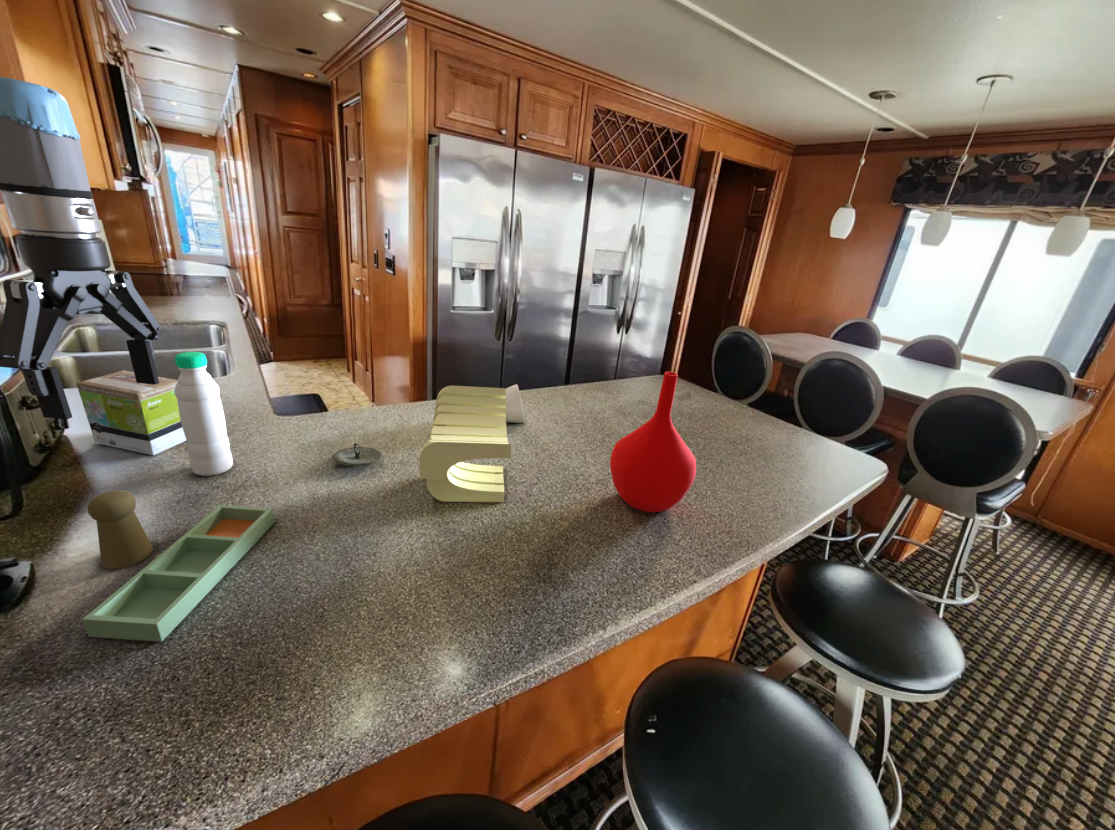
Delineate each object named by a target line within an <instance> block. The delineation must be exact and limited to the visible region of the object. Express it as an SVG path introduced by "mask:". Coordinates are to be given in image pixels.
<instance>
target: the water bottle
mask: <svg viewBox="0 0 1115 830" xmlns="http://www.w3.org/2000/svg"><path fill="white" fill-rule="evenodd" d="M174 362H175V365H176V367H177V369H178V370H179V371H180V374H179V376H178V378H177V380H178V383H177V384H176V387H175V390H174V393H175V396H176V398H177V400H178V409H179V414H180V419H181V423H182V427H183V431H184V434H185V437H186V449H187V453H188V455H189V462H190V467H191V471H192V473H193V474H195V475H198V476H202V477H210V476H216V475H221V474H224V473H225V472H228V471H229V470H230V469H232V467H233V465H234V458H233V455H232V451H231V445H230V439H229V437H228V433H227V424H226V417H225V412H224V407H223V402H222V399H221V397H220V396H221V395H220V393H221V391H220V386H219V384H218V383H217V382H216V380H214V379H213V377H212V375H211V374H210V373H209V372H208V371H207V370H206V369H207V367H208V359H207V356H206V354H204V353H203V352H200V351H185V352H180V353H178V354H176V355H175V357H174Z"/></svg>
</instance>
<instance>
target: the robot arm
mask: <svg viewBox="0 0 1115 830" xmlns="http://www.w3.org/2000/svg"><path fill="white" fill-rule="evenodd" d="M0 194H1V197H2V201H3V203H4V207H5V210H6V213H7V216H8V221H9V222H10V226H11V228H13V229H15V230H17V231H20V233H18V234H17V235H16V236H15V241H16V244H17V247H18V251H19V253H20V257H21V260H22V263H23V264H24V266H26V267H27V268H29V269H30V270H31V272H32V273H33V280H32V281H25V280H17V279H16V280H15V279H5V280H3V282H2V288H3V291H4V295H5V307H4V312H3V317H2V322H1V327H0V368H9V369H10V368H11V369H18V370H20V371H21V373H22V376H23V378H24V381H25V384H26V387H27V389H28V392H29V393H30V394H31V395H32V396H36V399H37V402H38V405H39V408H40V411H41V413H42V416H43V418H46V419H55V420H56V419H57V420H69V419H72V418H73V414H72V411H71V408H70V405H69V401H68V399H67V395H66V392H65V390H64V386H63V382H62V381H61V380H62V379H61V377H60V373H59V371H58V367H56V366H49V364H50V362H51V360H52V358H53V355H54V354H55V351H56V349H57V347H58V345H59V342H60V341H61V338H62V336H63V334H64V331H65V329H66V328H67V325H68V323H69V322H70V321H72V320H74V319H75V317H76V316H77V315H85V314H87V313H89V312H100V314H102V315H103V316H105V317H106V318H107V319H108V320H109V321H110V322H111V323H113V324H114V325H116V327H118V328H119V329H120V330H121V331H123V332H124V333H125V334H127V336H129V337H130V338H131V339H128V340H125V343H126V346H127V350H128V354H129V357H130V361H131V365H132V369H133V372H134V374H135V377H136V381H137V383H143V384H154V385H156V384H158V383H159V379H158V377H159V375H158V371H157V367H156V363H155V360H156V354H155V350H154V345H153V341H158V340H159V339H160V335H159V334H161V333H162V331H163V327H162V325H161V324H160V322H159V321H158V320H157V318H156V316H154V314H153V312H152V311H151V310H150V308H149V306H148V305H147V304H146V303H145V301H144V300H143V298H142V297H141V295H140V294H139V292H138V291H137V289H136V288H135V285H134V282H133V280H132V277H131V274H130V273H129V272H127V271H120V270H110V269H109V268H111V260H110V256H109V252H108V248H107V244H106V241H105V240H103V239H102V238H101V237H98V236H97V234H101V233H102V227H101V222H100V219H99V216H98V215H99V214H98V211H97V208H96V207H97V206H96V204H95V200H94V194H93V192H92V190H91V185H90V181H89V177H88V172H87V168H86V163H85V159H84V153H83V149H82V143H81V135H80V132H78V129H77V127H76V123H75V121H74V118H73V115H72V112H71V109H70V106H69V104H68V101H67V99H66V98H65V97H64V96H63V95H62V94H61V93H60V92H59V91H57V90H55V89H53V88H51V87H47V86H44V85H41V84H38V83H33V82H29V81H25V80H22V79H21V80H20V79H17V78H16V79H15V78H11V77H5V76H0Z"/></svg>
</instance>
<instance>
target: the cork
mask: <svg viewBox="0 0 1115 830" xmlns="http://www.w3.org/2000/svg"><path fill="white" fill-rule="evenodd" d="M136 506H137V501H136V497H135V496H134V495H133V494H132V492H129V491H127V490H121V489H120V490H119V489H118V490H110V491H106V492H103V493H100V494H98V495H96V496H94V497H92V498H91V499H90V500H89V502H88V504H87V513H88V515H89V516H90V517H91V518H92V520H94V521H96V526H97V527H96V528H97V538H98V547H99V554H100V564H101V565H102V567H103V568H106V569H112V570H113V569H114V570H116V569H123V568H127V567H130V566H134V565H136V564H138V563H141V562H142V561H144V560H146V559H147V558H148V557H149V556H151V555H152V553H153V551H154V546H153V544H152V542H151V541H150V539H149V536H148V535H147V533H146V531H145V529H144V528H143V526H142V524H141V522H140V520H139V518H138V516H137V514H136V512H135V510H136Z"/></svg>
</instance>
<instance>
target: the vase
mask: <svg viewBox="0 0 1115 830" xmlns="http://www.w3.org/2000/svg"><path fill="white" fill-rule="evenodd" d="M678 376H679V374H678V373H676V372H673V371H665V372H664V374H663V378H662V382H661V387H660V391H659V395H658V399H657V406H656V410H655V412H654V414H653V416H651V418H650V419H649V420H648V421H646V422H645V423H643V424H642V425H640V426H639V427H638V428H636V429H635V430H634V431H632V432H630V433H628V434H627V435H625V436H622V438H620V439H619V440H617V441H616V443H615V444H614V447H613V449H612V452H611V455H610V462H609V466H610V473H611V478H612V483H613V485H614V486H613V487H615V490H616V491H617V493H618V495H619V496H620V497H621V499H622V500H623V501H624V502H625V503H626V504H627V505H628V506H630V507H631V508H633V509H635V510H638V511H641V512H645V513H653V514H654V513H660V512H664V511H667V510H669V509H671V508H673V507H674V506H675V505H677V504H679V502H680V501H682V500H683V499H684V497H685V496H686V495H687V493H688V491H689V490H690V488H691V487H692V486H693V484H694V482H695V480H696V479H695V478H696V475H697V458H696V457H695V455H694V453H693V452H692V451H691V449H690V448H689V447H688V445H687V444H686V443H685V441H684V439H683V438H682V437H681V435H680V434H679V432H678V430H677V429H676V428H675V426H674V423H673V420H672V415H671V412H672V408H673V403H674V398H675V392H676V387H677V382H678Z"/></svg>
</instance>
